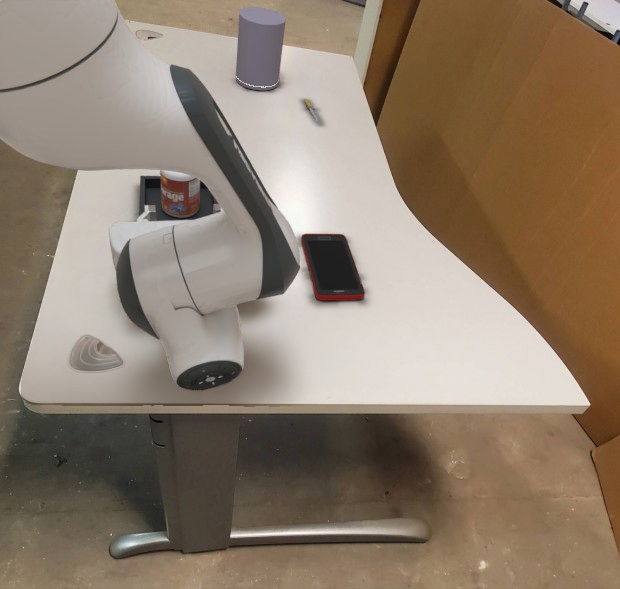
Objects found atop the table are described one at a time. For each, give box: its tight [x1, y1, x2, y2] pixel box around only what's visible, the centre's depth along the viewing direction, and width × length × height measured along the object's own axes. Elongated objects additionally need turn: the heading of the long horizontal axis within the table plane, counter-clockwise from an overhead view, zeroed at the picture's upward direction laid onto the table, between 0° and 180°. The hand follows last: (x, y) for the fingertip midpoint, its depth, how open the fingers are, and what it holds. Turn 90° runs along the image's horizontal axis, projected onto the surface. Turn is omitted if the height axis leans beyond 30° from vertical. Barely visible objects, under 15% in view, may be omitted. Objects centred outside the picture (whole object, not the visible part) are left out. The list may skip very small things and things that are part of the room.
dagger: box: [304, 98, 318, 122], centre depth 120 cm, size 11×1×2 cm
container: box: [235, 6, 287, 92], centre depth 122 cm, size 10×10×15 cm
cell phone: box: [300, 233, 366, 301], centre depth 83 cm, size 8×15×1 cm, turn 10°
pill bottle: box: [159, 170, 200, 218], centre depth 84 cm, size 6×6×11 cm
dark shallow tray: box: [138, 175, 218, 221], centre depth 87 cm, size 13×13×3 cm
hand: (184, 208), depth 75 cm, fingers open, 8 cm apart
